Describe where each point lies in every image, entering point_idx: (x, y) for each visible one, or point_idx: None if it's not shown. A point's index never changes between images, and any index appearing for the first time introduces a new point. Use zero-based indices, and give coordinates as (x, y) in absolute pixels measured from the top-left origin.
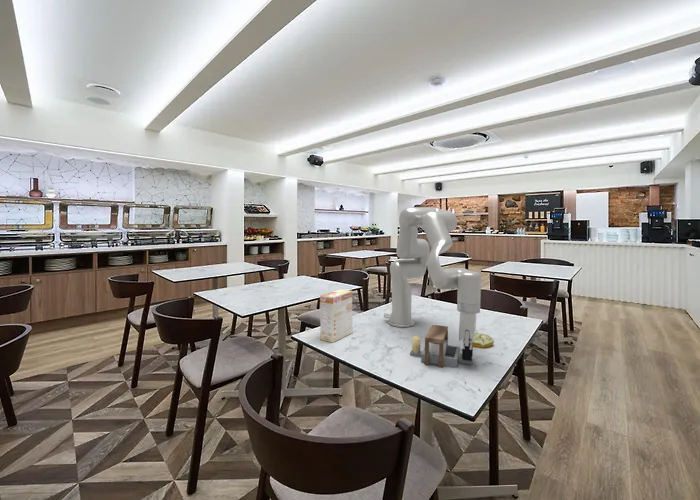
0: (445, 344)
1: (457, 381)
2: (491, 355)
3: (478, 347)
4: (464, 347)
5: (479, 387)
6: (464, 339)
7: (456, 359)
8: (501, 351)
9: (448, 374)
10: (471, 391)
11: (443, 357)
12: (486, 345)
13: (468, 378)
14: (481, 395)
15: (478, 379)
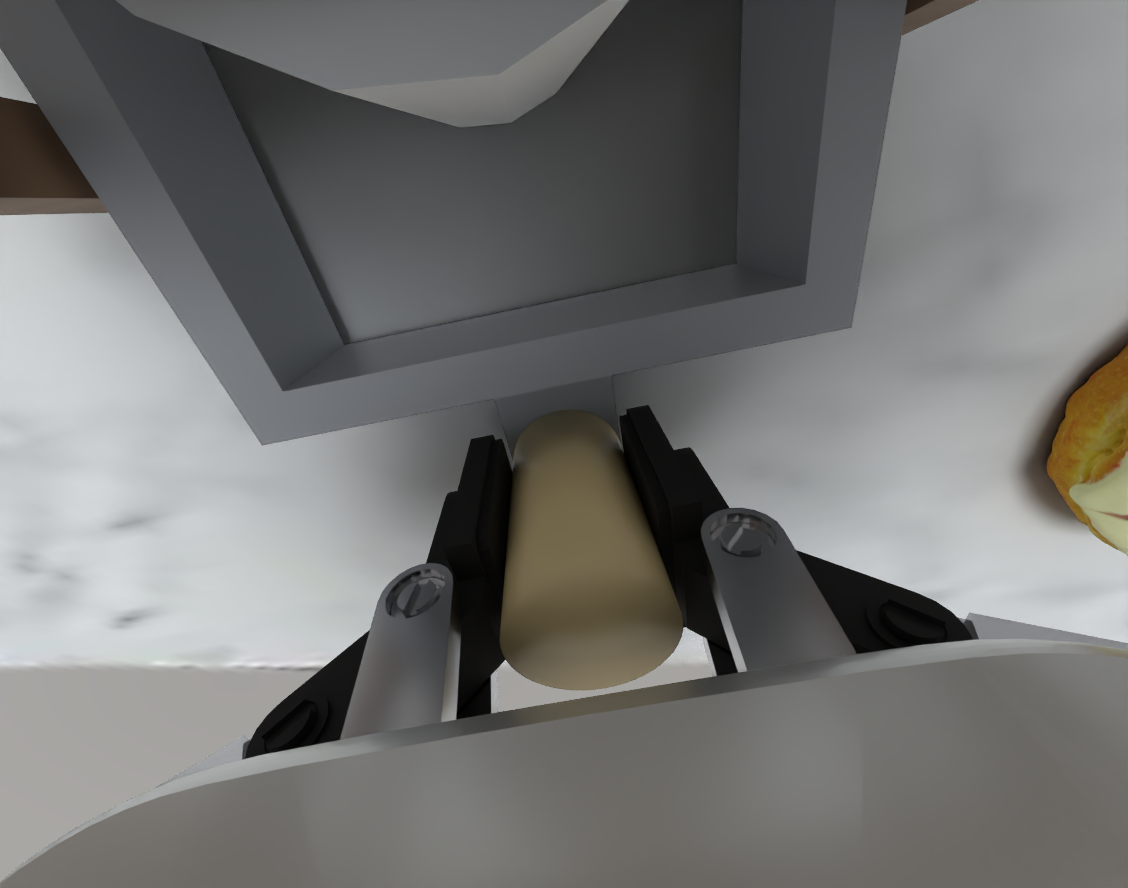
0: (333, 86)
1: (70, 466)
2: (872, 551)
3: (1065, 434)
4: (325, 666)
5: (170, 611)
6: (731, 625)
7: (257, 437)
8: (984, 586)
9: (113, 339)
10: (41, 590)
11: (104, 198)
12: (1085, 515)
13: (238, 522)
14: (69, 642)
15: (297, 580)
